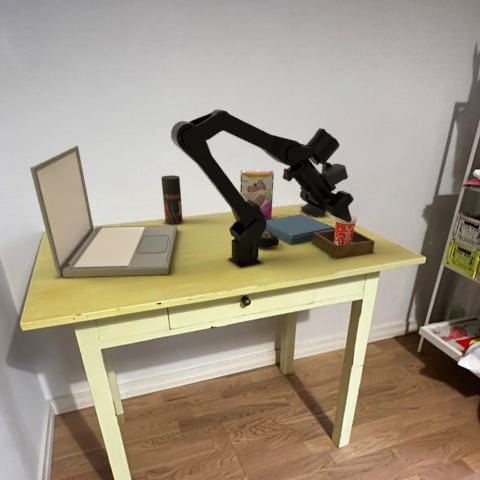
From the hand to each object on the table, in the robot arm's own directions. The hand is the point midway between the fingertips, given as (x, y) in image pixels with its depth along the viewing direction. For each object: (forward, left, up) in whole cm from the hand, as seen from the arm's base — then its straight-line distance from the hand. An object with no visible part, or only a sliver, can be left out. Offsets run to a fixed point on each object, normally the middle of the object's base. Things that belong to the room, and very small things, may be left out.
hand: (340, 216), depth 112 cm
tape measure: (-16, +13, -10) cm, 23 cm away
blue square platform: (0, +19, -9) cm, 21 cm away
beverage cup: (+2, 0, -10) cm, 10 cm away
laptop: (-53, +30, -10) cm, 62 cm away
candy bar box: (-4, +37, -10) cm, 38 cm away
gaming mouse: (+19, +34, -10) cm, 40 cm away
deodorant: (-30, +49, -10) cm, 58 cm away
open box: (+2, 0, -9) cm, 10 cm away
